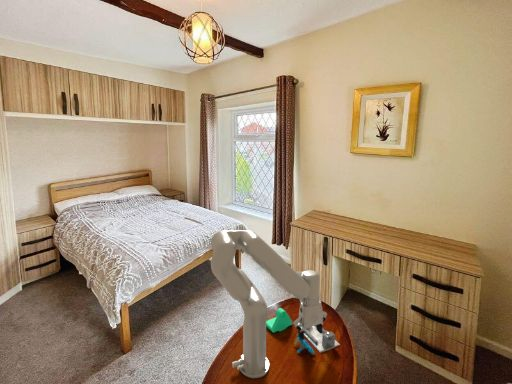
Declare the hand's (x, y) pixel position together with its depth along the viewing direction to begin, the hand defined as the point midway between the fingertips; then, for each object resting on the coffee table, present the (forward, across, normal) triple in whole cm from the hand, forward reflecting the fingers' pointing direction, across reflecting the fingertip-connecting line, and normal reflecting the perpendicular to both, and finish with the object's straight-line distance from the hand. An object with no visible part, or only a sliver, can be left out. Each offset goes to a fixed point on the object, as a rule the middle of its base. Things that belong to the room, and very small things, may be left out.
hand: (310, 334), depth 118 cm
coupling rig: (+8, +8, +7) cm, 13 cm away
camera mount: (+7, -5, +21) cm, 23 cm away
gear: (+8, -1, 0) cm, 9 cm away
